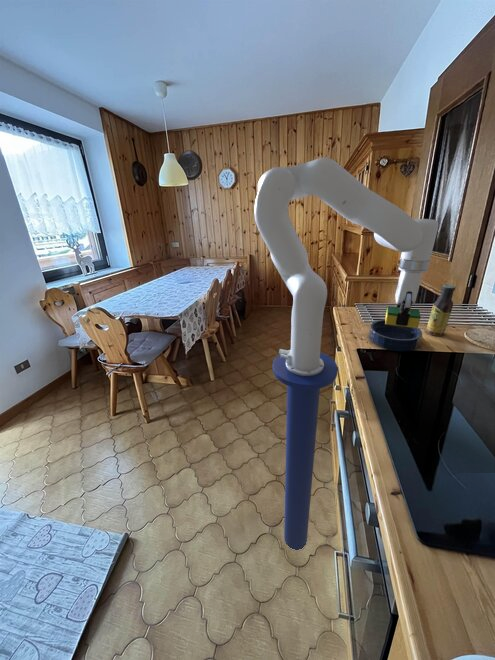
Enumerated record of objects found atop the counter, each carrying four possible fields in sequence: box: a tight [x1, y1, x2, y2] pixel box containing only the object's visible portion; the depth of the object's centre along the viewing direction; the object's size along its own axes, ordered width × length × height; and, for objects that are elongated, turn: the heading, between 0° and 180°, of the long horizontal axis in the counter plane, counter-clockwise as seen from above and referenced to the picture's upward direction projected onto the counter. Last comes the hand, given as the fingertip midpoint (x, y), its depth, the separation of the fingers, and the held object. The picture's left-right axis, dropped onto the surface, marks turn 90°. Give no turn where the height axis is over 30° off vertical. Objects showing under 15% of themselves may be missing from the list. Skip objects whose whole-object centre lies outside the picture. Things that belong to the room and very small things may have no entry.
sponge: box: [384, 305, 422, 328], centre depth 90 cm, size 9×6×4 cm, turn 67°
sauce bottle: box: [426, 283, 457, 337], centre depth 108 cm, size 7×6×20 cm
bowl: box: [368, 319, 423, 352], centre depth 108 cm, size 18×18×5 cm
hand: (400, 320), depth 90 cm, fingers closed on sponge, 6 cm apart
